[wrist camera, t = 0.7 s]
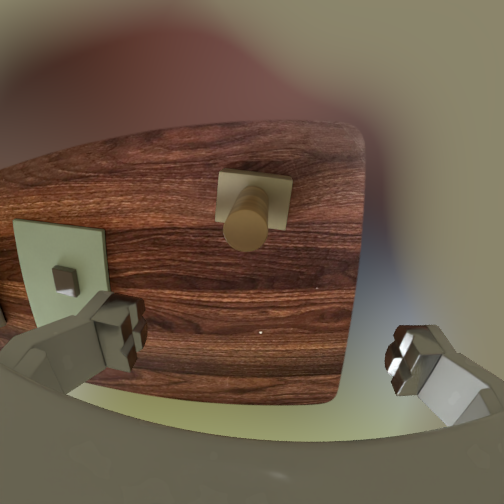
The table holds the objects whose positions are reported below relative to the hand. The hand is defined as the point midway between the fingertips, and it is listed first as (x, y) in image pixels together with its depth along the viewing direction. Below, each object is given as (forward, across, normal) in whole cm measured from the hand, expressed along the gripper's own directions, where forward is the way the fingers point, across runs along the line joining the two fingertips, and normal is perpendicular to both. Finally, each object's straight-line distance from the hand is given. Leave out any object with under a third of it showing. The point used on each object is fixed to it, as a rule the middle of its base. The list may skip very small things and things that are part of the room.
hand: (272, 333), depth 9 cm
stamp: (+23, +2, +1) cm, 23 cm away
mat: (+23, +29, +16) cm, 41 cm away
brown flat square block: (+23, +27, +14) cm, 38 cm away
